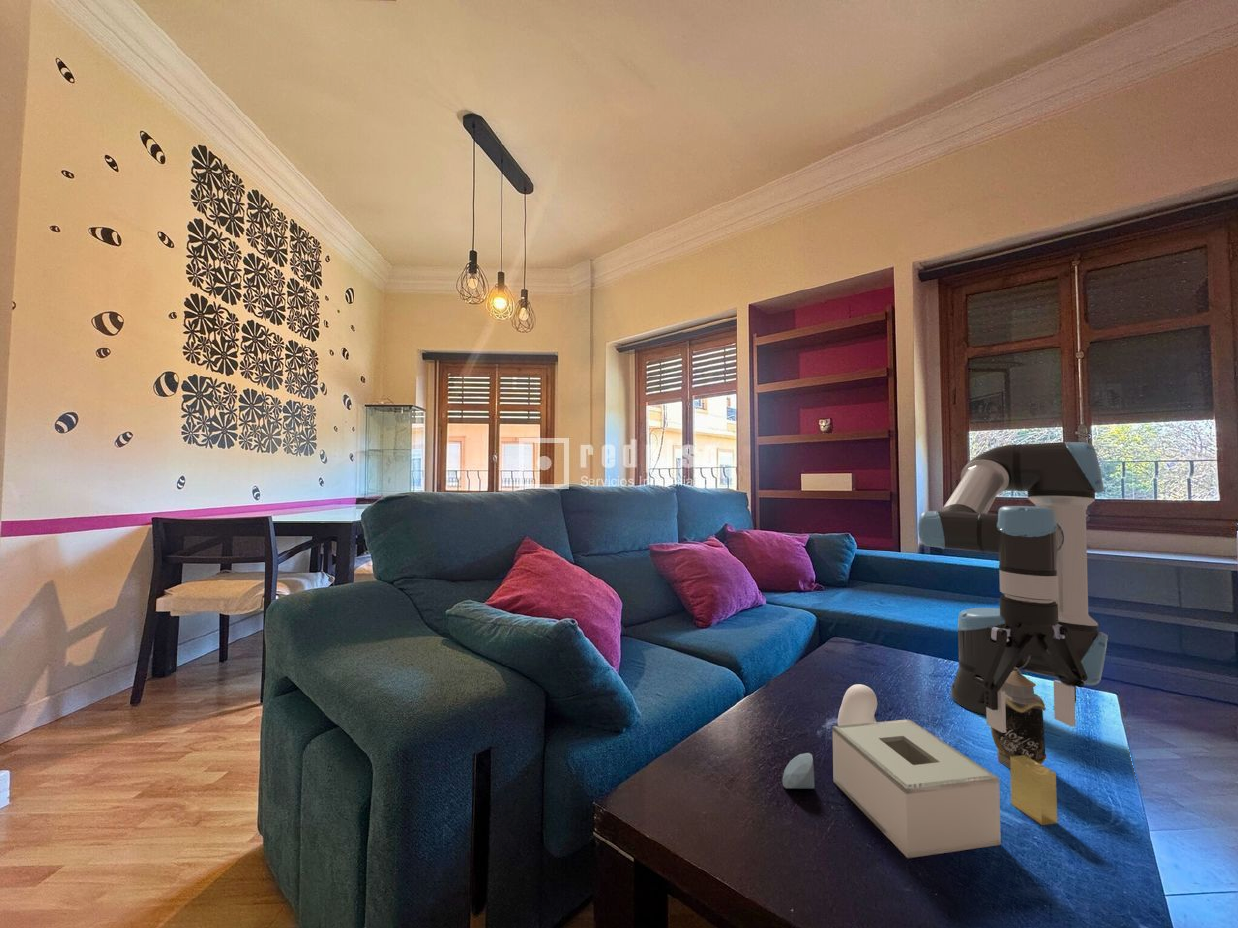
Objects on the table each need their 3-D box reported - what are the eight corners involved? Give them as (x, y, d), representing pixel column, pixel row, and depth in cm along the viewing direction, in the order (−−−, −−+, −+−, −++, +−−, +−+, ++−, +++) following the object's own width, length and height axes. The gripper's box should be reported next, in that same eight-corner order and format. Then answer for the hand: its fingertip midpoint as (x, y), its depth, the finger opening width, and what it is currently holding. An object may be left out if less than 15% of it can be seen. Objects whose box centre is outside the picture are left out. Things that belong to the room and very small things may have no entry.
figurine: (883, 753, 96) (882, 693, 97) (843, 749, 98) (842, 690, 98) (871, 735, 103) (870, 679, 103) (834, 731, 105) (833, 676, 105)
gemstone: (830, 763, 88) (809, 741, 89) (830, 793, 81) (807, 769, 82) (800, 783, 90) (780, 761, 91) (797, 814, 83) (776, 790, 85)
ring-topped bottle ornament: (1019, 779, 88) (1016, 643, 89) (980, 754, 96) (977, 629, 97) (1059, 774, 89) (1055, 640, 90) (1017, 750, 97) (1013, 627, 98)
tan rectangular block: (1026, 802, 82) (1024, 754, 82) (1057, 822, 77) (1055, 772, 77) (1011, 804, 81) (1010, 756, 82) (1041, 825, 76) (1040, 774, 77)
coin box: (910, 772, 90) (909, 719, 90) (1000, 844, 72) (999, 777, 73) (833, 781, 87) (832, 726, 88) (907, 858, 70) (906, 788, 70)
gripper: (1065, 590, 86) (1068, 709, 85) (944, 594, 82) (946, 719, 81) (1114, 600, 79) (1118, 731, 78) (984, 605, 75) (987, 743, 74)
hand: (1031, 725), depth 79 cm, fingers open, 13 cm apart
